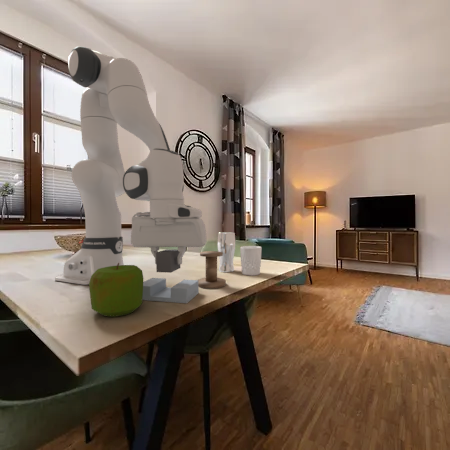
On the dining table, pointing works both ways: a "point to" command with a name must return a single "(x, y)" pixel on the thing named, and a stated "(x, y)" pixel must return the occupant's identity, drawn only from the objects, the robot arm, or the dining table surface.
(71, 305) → the dining table surface
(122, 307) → the apple
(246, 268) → the white cup
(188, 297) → the notch board
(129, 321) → the dining table surface
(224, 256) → the beer glass
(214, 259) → the bobbin
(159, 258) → the tab
